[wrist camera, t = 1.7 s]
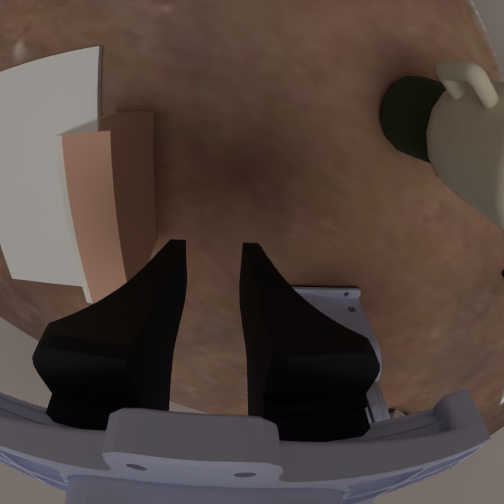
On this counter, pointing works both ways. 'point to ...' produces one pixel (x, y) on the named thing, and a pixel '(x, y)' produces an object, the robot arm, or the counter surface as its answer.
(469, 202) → the character mug
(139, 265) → the tile
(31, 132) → the board
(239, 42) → the counter surface
